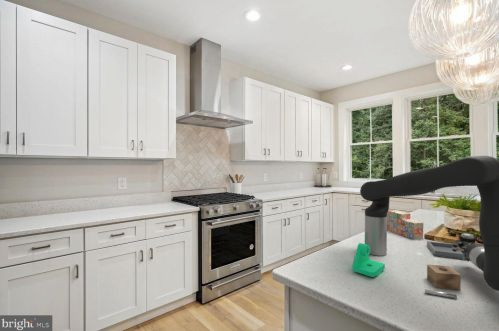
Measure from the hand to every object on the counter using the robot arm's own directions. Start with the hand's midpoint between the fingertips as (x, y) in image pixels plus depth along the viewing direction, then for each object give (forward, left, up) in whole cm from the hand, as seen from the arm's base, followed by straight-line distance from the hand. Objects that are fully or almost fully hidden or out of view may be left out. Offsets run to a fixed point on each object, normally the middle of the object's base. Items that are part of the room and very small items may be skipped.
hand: (465, 242), depth 103 cm
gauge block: (-13, -23, -9) cm, 28 cm away
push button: (0, -3, -6) cm, 7 cm away
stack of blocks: (-17, +41, -9) cm, 45 cm away
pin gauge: (-16, -33, -9) cm, 38 cm away
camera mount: (-36, -23, -10) cm, 43 cm away
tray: (-2, +14, -9) cm, 17 cm away
